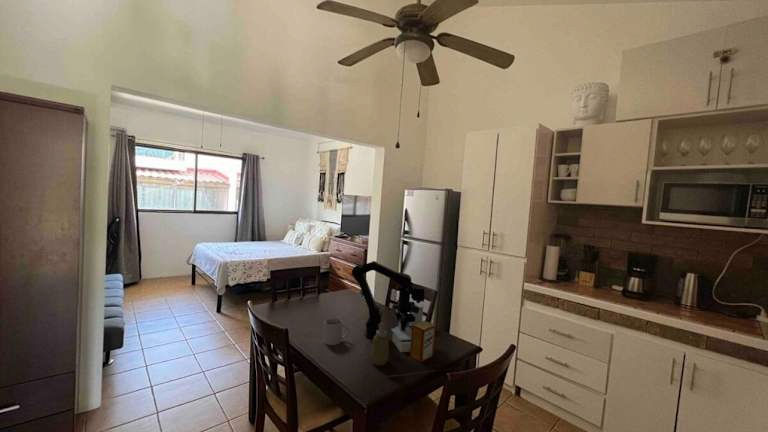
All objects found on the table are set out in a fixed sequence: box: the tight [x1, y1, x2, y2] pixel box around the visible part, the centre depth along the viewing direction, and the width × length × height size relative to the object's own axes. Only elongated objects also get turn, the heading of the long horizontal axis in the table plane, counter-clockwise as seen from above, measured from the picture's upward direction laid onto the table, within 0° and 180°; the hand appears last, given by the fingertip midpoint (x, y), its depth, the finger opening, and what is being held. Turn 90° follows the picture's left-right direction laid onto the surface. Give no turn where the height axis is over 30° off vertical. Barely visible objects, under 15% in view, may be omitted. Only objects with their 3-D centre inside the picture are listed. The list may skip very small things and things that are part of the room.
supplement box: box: [408, 302, 424, 328], centre depth 182 cm, size 7×7×13 cm
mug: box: [323, 318, 349, 346], centre depth 154 cm, size 11×10×10 cm
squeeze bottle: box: [370, 322, 390, 367], centre depth 137 cm, size 8×8×18 cm
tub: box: [392, 332, 411, 353], centre depth 155 cm, size 10×12×5 cm
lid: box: [390, 321, 412, 341], centre depth 157 cm, size 10×14×5 cm
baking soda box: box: [409, 320, 437, 363], centre depth 145 cm, size 10×6×16 cm
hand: (401, 328), depth 160 cm, fingers closed on lid, 3 cm apart
